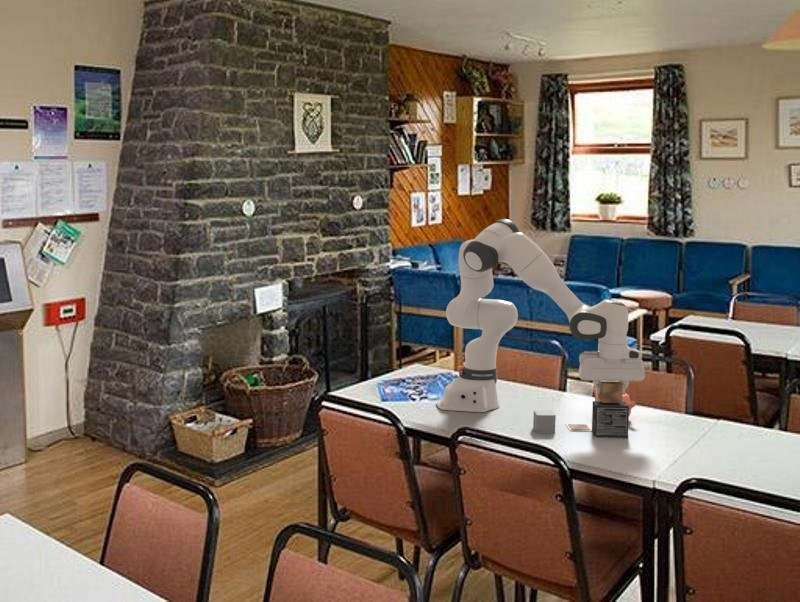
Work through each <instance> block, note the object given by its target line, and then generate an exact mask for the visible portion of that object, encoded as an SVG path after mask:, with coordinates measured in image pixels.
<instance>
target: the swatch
mask: <svg viewBox="0 0 800 602" xmlns="http://www.w3.org/2000/svg"><path fill="white" fill-rule="evenodd" d="M565 426H566V427H567V429H568V431H570V432H592V427H590V426H589V424H586V423H585V424H582V423H581V424H580V423H576V424H575V423H574V424H572V423H571V424H570V423H567V424H566V423H565Z"/></svg>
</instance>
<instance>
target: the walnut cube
mask: <svg viewBox="0 0 800 602" xmlns="http://www.w3.org/2000/svg"><path fill="white" fill-rule="evenodd" d="M623 385H624V383H623V382H622V381H599V384H598V387H599V388H601V389H602V394H598V398H599V399H600V400H601V401H602V402H603V403H622V393H623Z"/></svg>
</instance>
